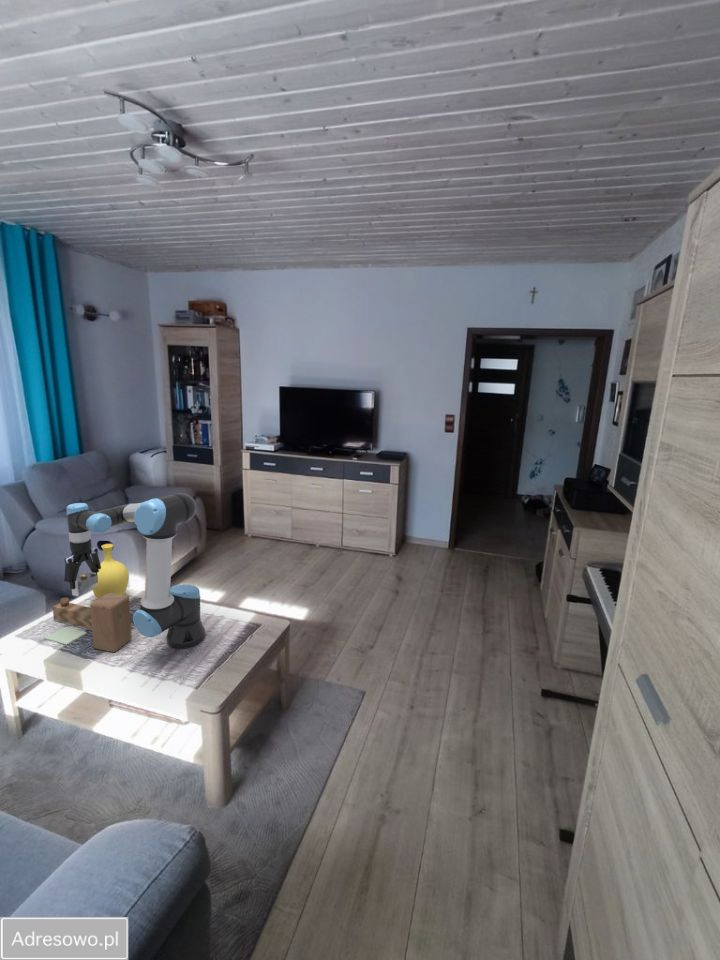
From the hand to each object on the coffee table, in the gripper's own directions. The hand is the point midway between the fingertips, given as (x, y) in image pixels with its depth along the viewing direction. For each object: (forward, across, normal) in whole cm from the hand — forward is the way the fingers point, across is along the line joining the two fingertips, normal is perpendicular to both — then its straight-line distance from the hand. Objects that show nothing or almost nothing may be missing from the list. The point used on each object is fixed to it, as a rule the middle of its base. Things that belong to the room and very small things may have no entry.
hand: (85, 590), depth 183 cm
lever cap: (-3, 0, 0) cm, 3 cm away
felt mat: (+16, +9, -1) cm, 19 cm away
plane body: (+16, 0, -3) cm, 17 cm away
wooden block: (+17, +7, +21) cm, 27 cm away
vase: (+16, -21, -9) cm, 28 cm away
